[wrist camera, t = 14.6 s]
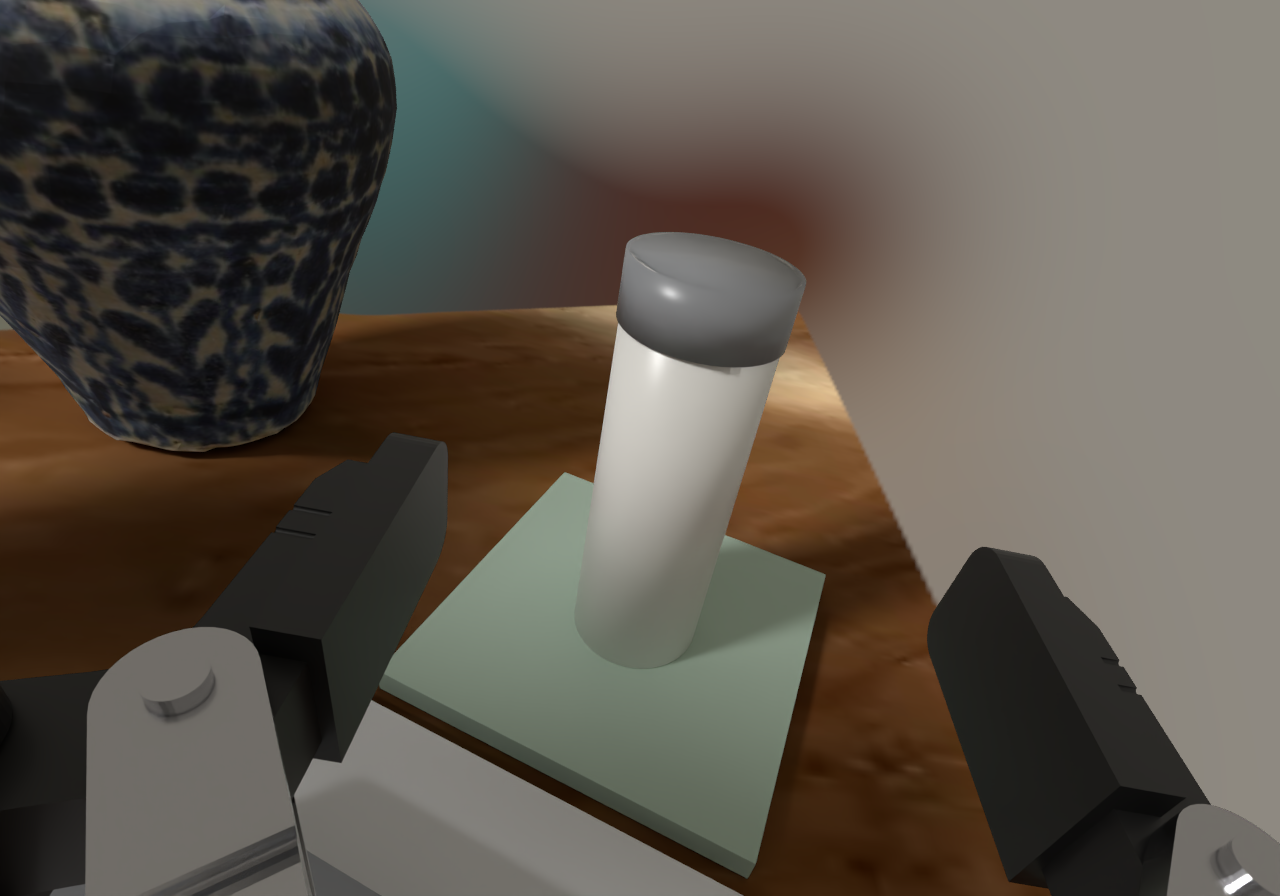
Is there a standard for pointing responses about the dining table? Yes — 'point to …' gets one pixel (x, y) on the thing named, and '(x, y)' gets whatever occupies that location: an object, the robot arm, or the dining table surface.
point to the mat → (622, 682)
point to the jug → (187, 202)
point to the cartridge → (677, 434)
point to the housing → (459, 828)
